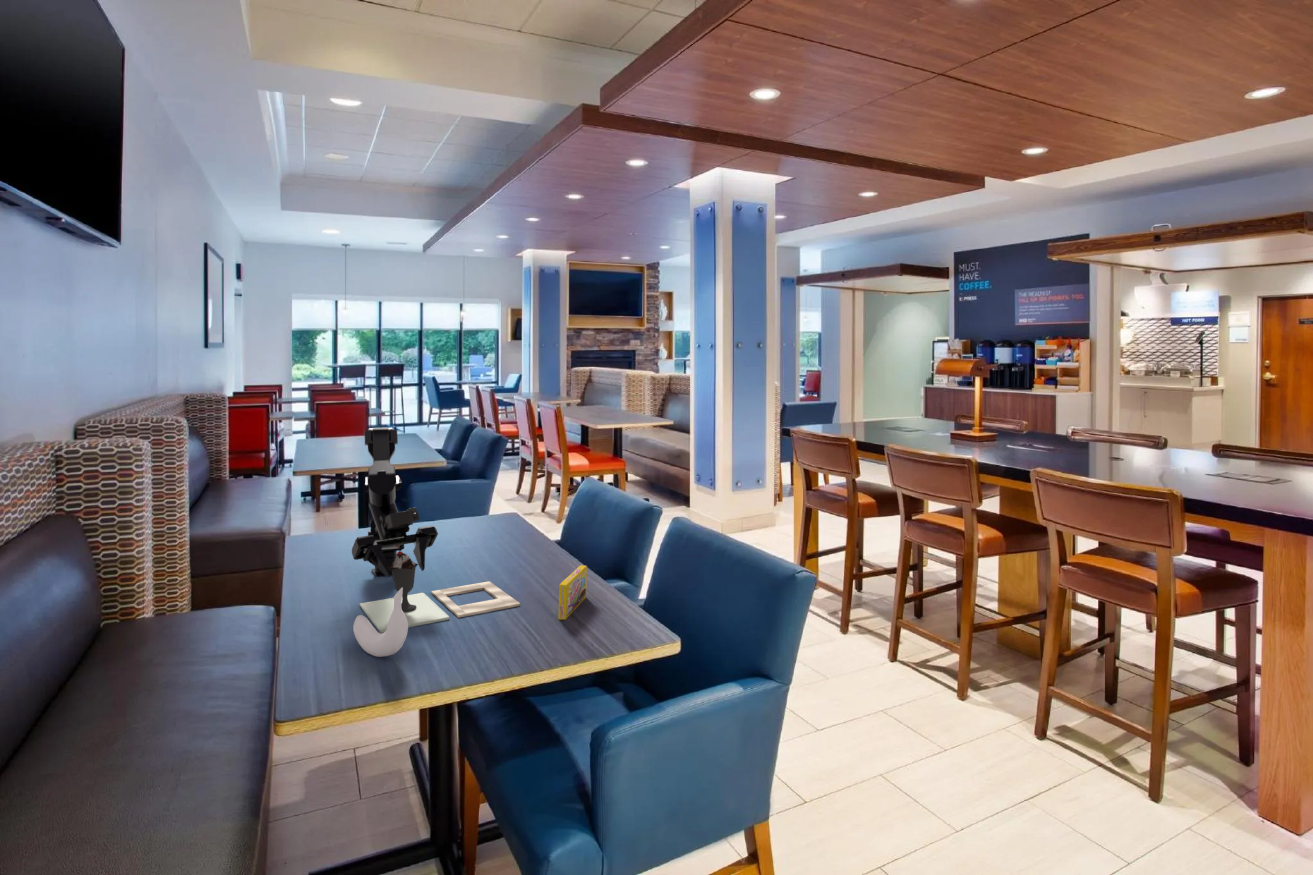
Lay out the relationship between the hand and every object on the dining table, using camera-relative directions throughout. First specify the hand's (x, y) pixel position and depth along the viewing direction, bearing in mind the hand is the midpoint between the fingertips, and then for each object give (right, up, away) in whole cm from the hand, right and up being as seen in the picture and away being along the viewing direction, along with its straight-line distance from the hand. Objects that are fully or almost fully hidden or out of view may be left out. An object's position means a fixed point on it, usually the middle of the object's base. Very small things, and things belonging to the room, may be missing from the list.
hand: (406, 573), depth 174 cm
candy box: (+37, -10, +6) cm, 39 cm away
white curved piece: (+1, -13, -21) cm, 25 cm away
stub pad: (-1, -9, +2) cm, 10 cm away
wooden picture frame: (+13, -8, +11) cm, 19 cm away
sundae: (-1, -9, +2) cm, 9 cm away
